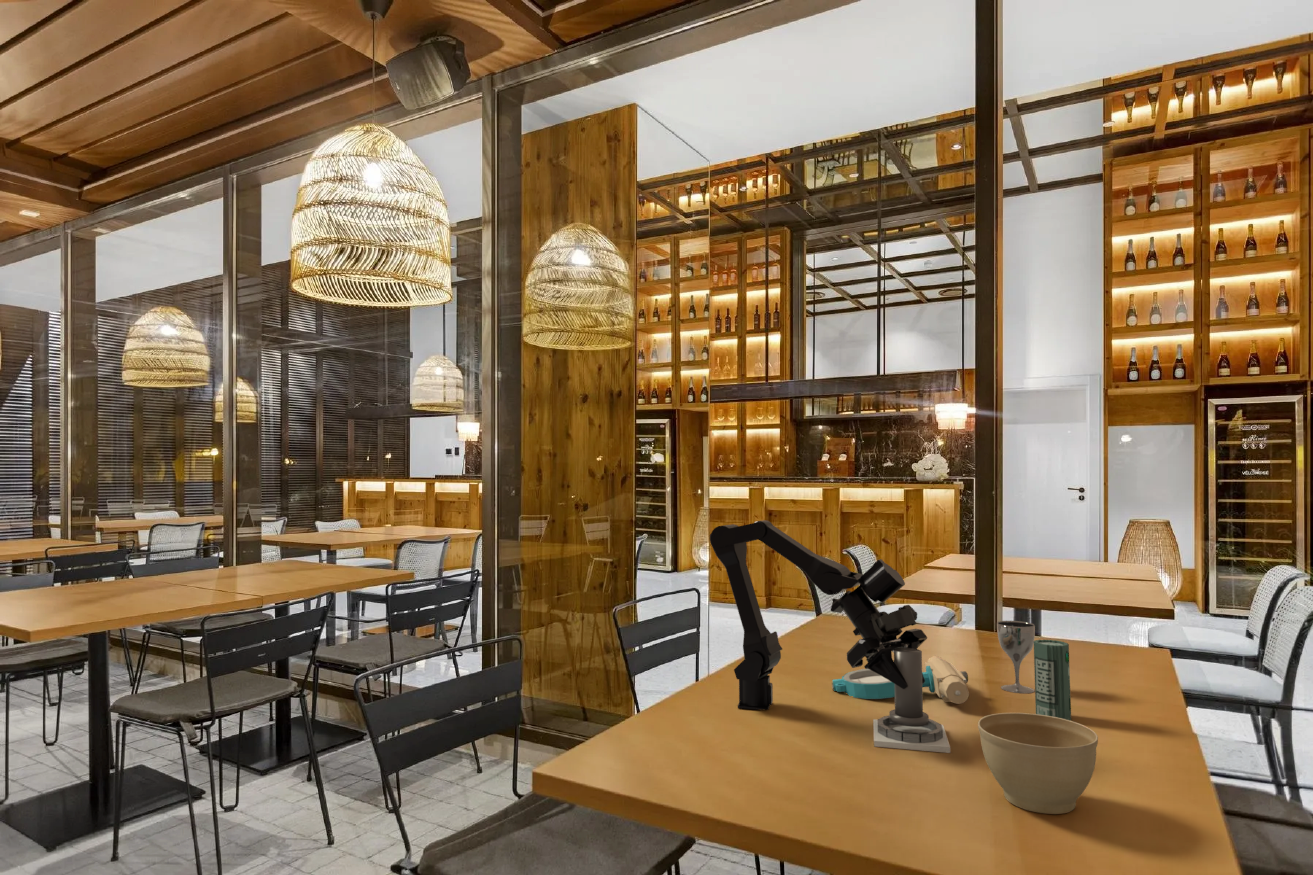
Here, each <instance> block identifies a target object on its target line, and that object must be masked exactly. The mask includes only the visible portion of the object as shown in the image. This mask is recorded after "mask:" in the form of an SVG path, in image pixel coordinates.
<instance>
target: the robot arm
mask: <svg viewBox="0 0 1313 875" xmlns="http://www.w3.org/2000/svg"><path fill="white" fill-rule="evenodd" d="M757 540H758V541H759V542H761V543H763V544H764V545H766V546H767V547H769V548H770V549H772V550H773V551H775V552H776V553H778V554H779V555H781V556H782V557H783V558H785V559H786V560H787V561H789V562H790V563H792V564H793V565H795V566H796V567H798V568H799V569H801V571H803V573H805V574H806V576H807V577H808V579H809V580H810V582H811V583H813V584H814V585H815V586H816V587H817V589H819V591H821V592H822V593H824V595H825V594H826V595H829V596H834V595H837V594H840V593H842V592H844V594H843V595H842V596H840V597H839V598H838V599H837V598H832V603H831V607H830V612H832V613H837V614H841V613H842V612H844V614H845V615H846V617H847V618H848V620H850V622H851V623H852V625H853V627H854V629H853V631H852V633H853V634H854V636H855V637H857V636H861V638H860V639H859V640H857V641H856V642H855V644H854V645H852V647H851V648H850V649H849V650H848V651H847V652H846V661H847V662H848V665H849V666H850V667H851V668H852V669H854V668H859V667H862V666H863V664H864V659H863V658H866V659H865V661H867V663H866V664H865V665H864V667H863V668H864V669H870V670H871V671H873V672H875V673H877V674H879V675H881V676H883V677H884V678H886V679H888V680H889V681H891V682H892V683H894V684H896V685H897V686H899V687H901V688H902V689H906V688H907V687H908V685H907V683H906V681H905V679H904V677H903V676H902V674H901V672H900V671H899V669H898V668H897V666H896V664H895V663H894V658H893V656H892V655H893V654H892V653H894V649H896V648H914V649H919V648H920V647H921V645H922V644H924V643H925V641H927V640H928V636H927V635H926V634H925V632H924V631H923V630H922V629H920V628H911V629H906V630H905V631H904V632H903V630H902V629H904V628H907V627H909V626H910V627H911V626H915V625H917V622H916V621H917V619H918V612H917V611H916V610H915V609H914V608H913V607H912V606H911V605H910V604H905V605H903V606H899V607H898V609H896V610H894V611H891V612H889V613H888V612H886V611H879V609H878V608H877V607H876V605H875V604H874V603H877V602H878V601H879V602H880V603H883V604H884V603H885V602H887V600H889V599H890V598H891V597H892V596H893V595H895V594H896V593H897V592H898V591H899V590H900V589H902V588H903V587H904V586H905V584H906V581H905V580H904V579H903V577H902V576H901V574H900V573H899V572H898V571H897V569H894V568H893V567H892V566H890V565H889V564H888V563H886V562H885V561H884V560H883V559H882V558H881V559H877V560H876V561H875V562H874V563H873V564H872V566H870V568H869V569H868V570H867V571H865V572H864V573H863V574H862V573H858V572H854V571H851V570H850V569H849V568H848V567H847V566H846V565H844V564H842V563H839V562H837V561H835V560H832V559H830V558H828V557H824V556H821V555H819V554H816V553H815V552H813V551H812V550H810V549H809V548H807V547H805V545H803V544H801V543H800V542H799V541H797V540H796V539H794V538H792V537H791V536H790V535H788V534H786V533H785V532H783V531H782V530H781V529H779V528H778V527H776V526H775V525H774V524H773V523H772V522H770V521H769V520H768V519H767V520H757V521H754V522H752V523H749V524H743V525H737V524H735V523H734V524H725V525H719V526H716V527H714V528H713V530H712V531H711V534H710V535H709V542H710V546H711V547H712V549H713V553H715V555H716V558H718V560H719V561H720V563H721V564H722V565H723V567H724V568H725V570H726V574H727V577H728V581H729V584H730V588H731V592H732V595H733V598H734V601H735V605H736V609H737V612H738V616H739V619H740V623H741V625H742V629H743V642H742V650H743V658H744V659H743V660H742V661H741V662H740V663H739V664H738V665H737V666H736V667H735V668H734V669H733V671H734V674H735V678H736V679H737V680H738V691H739V692H738V700H739V701H738V704H737V708H738V709H748V710H758V711H760V710H761V711H768V710H769V709H770V707H771V706H772V705H773V702H774V700H773V699H774V698H773V683H772V682H770V681H771V678H770V677H771V676H770V674H772V673H773V671H774V668H775V667H776V666H777V665H778V664H779V663H780V660H781V659H782V653H781V651H783V647H782V645H780V642H779V635H778V632H777V631H773V632H771V631H770V630H769V628H767V626H766V624H765V622H764V619H763V615H762V612H761V608H760V606H759V601H758V598H757V596H756V592H755V588H754V585H753V581H752V578H751V575H750V571H749V569H748V565H747V554H748V546H747V543H748V542H754V541H757ZM854 587H856V588H855V589H853V588H854ZM848 589H853V591H850V590H848ZM846 590H848V591H846ZM845 591H846V592H845ZM898 636H899V637H898ZM924 682H925V679H924V676H923V674H922V684H923V683H924Z"/></svg>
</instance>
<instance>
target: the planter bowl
mask: <svg viewBox="0 0 1313 875" xmlns="http://www.w3.org/2000/svg"><path fill="white" fill-rule="evenodd" d="M977 729H978V732H979V736H980V745H981V750H982V754H983V757H984V760H985V763H986V764H987V767H988V769H989V770H990V773H991V774H992V776H993V777H994V779H995V780H996V782H997V783H998V784H999V786H1000V787H1001V789H1002V791H1003V795H1004V798H1005V799H1006V800H1007V801H1008V802H1009V803H1010V804H1012V805H1014V806H1015V807H1017V808H1021V809H1023V810H1025V811H1028V812H1029V811H1030V812H1033V813H1038V814H1047V815H1060V814H1066V813H1071V811H1073V810H1075V808H1076V805H1077V800H1078V798H1079V797H1080V796H1082V794H1083V793H1084V791H1085V790H1086V789H1087V787H1088V785H1089V783H1090V781H1091V779H1092V777H1093V774H1094V771H1095V767H1096V761H1097V747H1098V743H1099V736H1098V734H1097V733H1096V732H1095V731H1094V730H1093V729H1091V728H1090V727H1087V726H1086V725H1084V724H1082V723H1079V722H1076V721H1073V720H1066V719H1062V718H1058V717H1052V716H1046V715H1039V714H1036V713H1028V712H1027V713H1026V712H1000V713H992V714H988V715H985V716H983V717H981V718H980V719H979V720H978V722H977Z"/></svg>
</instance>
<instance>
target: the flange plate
mask: <svg viewBox="0 0 1313 875" xmlns="http://www.w3.org/2000/svg"><path fill="white" fill-rule="evenodd" d="M872 721H873V723H872V725H873V728H872V729H873V747H879V748H890V749H900V750H911V751H923V752H924V751H925V752H933V753H947V754H951V745H950V743H949V739H948V736H947V733H946V729H945V727H944V724H941V723H940V722H937V721H935V720H933V719H930V718H929V724H928V725H925V726H920V727H910V726H903V725H899V724H895V723H893V722H891V721H890V718H889V715H885V716H882V717H879V718H877V719H874V718H873V720H872Z"/></svg>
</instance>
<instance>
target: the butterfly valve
mask: <svg viewBox="0 0 1313 875" xmlns="http://www.w3.org/2000/svg"><path fill="white" fill-rule="evenodd" d="M924 665H925V671H922V674H923V676H924V679H925V682H924V683H923V684H922V688H928V690H929V691H930V692H931V694H932V693H934V694H935V693H936V694H937V696H938V698H941V699H942V701H943V702H945V703H948V702H949V703H950V702H951V703H954V704H956V705H958V704H959V705H960V704H964V703H965V702H966V701H968V698H969V696H970V691H969V689H968V684H967V683H968V682H969V674H968V673H967V671H963V670H961V671H960V670H958V669H957V667H956V666H955V665H954V664H953V663H952V662H948V661H947V660H946V659H943V658H942V657H939V656H936V655H934V656H931V657H930V658H928V659H927V661H925V662H924ZM831 687H832V688H831V689H832V690H833V691H837V692H839V693H841V692H843V693H844V692H845V694H846V693H847V694H848V695H849V697H851V696H853V697H852V698H855V699H857V698H858V699H865V700H880V699H881V700H882V699H891V698H895V685H894V683H892V682H891V681H889V680H888V679H886V678H884V677H883V676H881V675H879V674H877V673H875V672H873V671H871V670H870V669H865V668H861V669H857V670H852V671H849V672H847V673H845V674H844V675H842V676H841V678H837V679H832V681H831ZM837 692H836V693H837ZM847 694H846V695H847ZM848 695H847V696H848Z"/></svg>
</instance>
